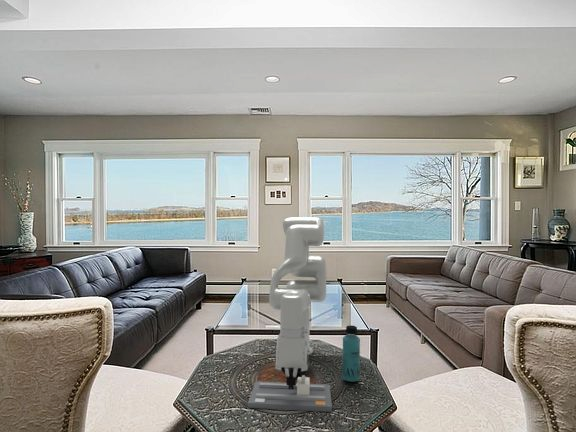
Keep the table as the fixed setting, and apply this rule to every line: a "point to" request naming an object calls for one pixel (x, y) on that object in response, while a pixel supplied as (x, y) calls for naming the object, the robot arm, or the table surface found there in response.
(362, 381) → the table surface
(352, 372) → the beverage bottle
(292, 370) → the end cap
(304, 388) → the knob
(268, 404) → the breaker panel
